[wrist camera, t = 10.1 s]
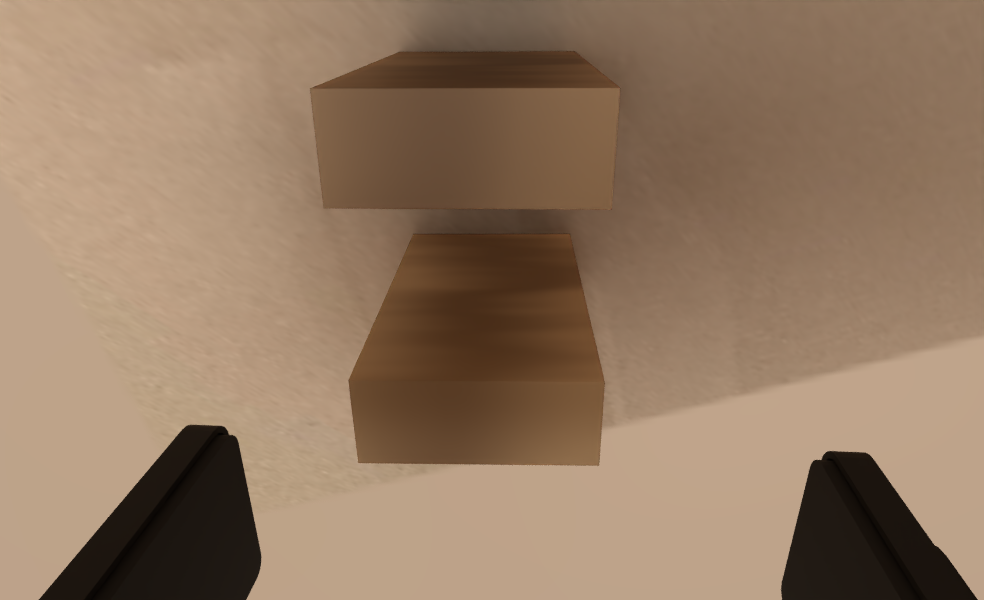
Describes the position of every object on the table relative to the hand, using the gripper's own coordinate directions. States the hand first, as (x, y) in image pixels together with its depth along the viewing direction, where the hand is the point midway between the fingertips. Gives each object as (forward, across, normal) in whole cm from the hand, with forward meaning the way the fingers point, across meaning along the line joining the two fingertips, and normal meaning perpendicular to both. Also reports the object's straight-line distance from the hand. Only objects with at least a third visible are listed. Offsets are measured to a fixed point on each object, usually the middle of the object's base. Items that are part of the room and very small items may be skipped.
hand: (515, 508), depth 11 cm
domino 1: (+12, +1, -5) cm, 13 cm away
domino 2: (+12, +1, 0) cm, 12 cm away
